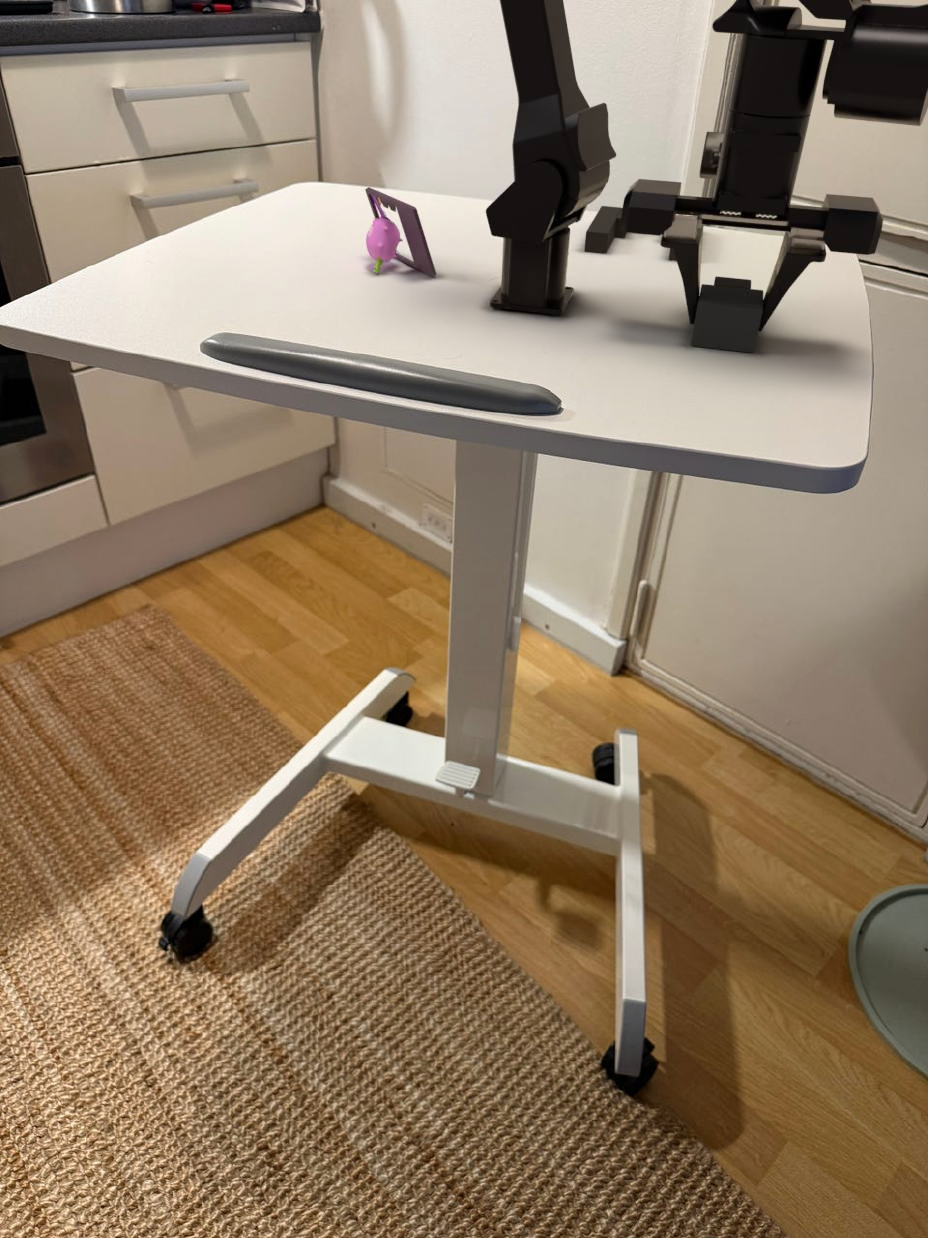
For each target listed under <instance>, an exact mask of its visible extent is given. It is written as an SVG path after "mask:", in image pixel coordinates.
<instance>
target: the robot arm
mask: <svg viewBox="0 0 928 1238" xmlns="http://www.w3.org/2000/svg"><path fill="white" fill-rule="evenodd" d="M798 2H799V3H800V4H801V5H802V6H803V7H804V8H805V9H806V10H807V11H808V12H809V13H810V14H811V15H812V16H813V17H814V18H816V19H818V20H833V21H834V20H835V21H845V25H844V27H833V26H823V25H822V26H819V25H811V24H803V11H802V9H801V7H799V6H788V5H787V6H785V5H769V4H761V3H760V2H759V0H735V1H734V2H733V3H732V4H731V6H730V7H729V8H728V9H727V10H726V11H725V12H724V13H722V14H721V15H720V16H718V18H716V19H714V21H713V22H712V30H713V32H715V33H720V34H723V33H724V34H734V35H735V34H736V35H741V37H740V42H739V47H738V53H737V59H736V65H735V70H734V76H733V82H732V87H731V93H730V99H729V103H728V109H727V114H726V120H725V125H724V132H720V131H719V132H718V131H706V134H705V140H704V145H703V150H702V156H701V161H700V167H699V178H700V179H707V180H715V181H714V186H713V191H712V197H705V196H693V195H682V194H681V189H682V182H681V181H668V180H660V179H659V180H657V179H645V178H638V179H637V180H636V181H634V183H633V184H632V185H630V186H629V188H628V191H627V192H626V194H625V196H624V198H623V202H622V203H623V204H622V207H621V208H622V216H621V224H620V230H621V231H624V232H626V234H637V235H648V236H659V237H660V236H661V235H662V236H661V240H660V247H661V248H665V249H670V248H671V249H672V250H673V251H674V255H675V258H676V260H675V261H676V264H677V266H678V270H679V273H680V276H681V279H682V284H683V289H684V290H683V291H684V296H685V302H686V308H687V314H688V321H689V324H690V325H693V326H694V323H695V317H696V312H697V306H698V301H699V295H700V290H701V270H702V268H701V267H702V252H703V251H702V249H703V236H704V225H706V226H707V225H708V226H720V227H731V228H741V229H742V228H743V229H752V230H762V231H763V230H766V231H774V232H784V234H783V235H784V236H783V238H782V241H781V245H780V249H779V252H778V255H777V259H776V263H775V265H774V267H773V270H772V274H771V276H770V279H769V282H768V285H767V287H766V290H765V293H764V295H763V313H762V317H761V322H760V326H759V330H758V333H761V332H762V331H763V329H764V328H765V326H766V325H767V323H768V322H769V320H770V319H771V317H772V316H773V314H774V312H775V311H776V309H777V308H778V306H779V304H780V303H781V302H782V300H783V298H784V297H785V295H786V294H787V292H788V291H789V290H790V288H791V287H792V286H793V285H794V283H795V282H796V281H797V280H798V278H799V277H800V276H801V275H802V274H803V273H804V271H805V270H806V269H807V268H808V266H809V265H810V264H812V263H824V262H825V261H826V257H827V249H826V246H827V248H828V250H829V251H830V252H832V253H843V254H851V255H852V254H853V255H854V254H855V255H863V256H870V255H875V254H876V251H877V248H878V244H879V241H880V237H881V234H882V229H883V226H884V225H883V224H884V219H883V215H882V213H881V211H880V207H879V206H878V204H877V203H876V200H874V198H873V197H869V196H868V197H867V196H858V195H857V196H856V195H844V194H843V195H842V194H831V193H826V194H825V196H824V200H823V202H822V206H814V205H812V206H811V205H802V204H791V202H792V197H793V194H794V190H795V186H796V185H795V184H796V181H797V176H798V171H799V168H800V164H801V158H802V154H803V149H804V146H805V145H804V144H805V141H806V136H807V133H808V128H809V123H810V120H811V119H810V118H811V115H812V114H811V113H812V110H813V105H814V101H815V97H816V92H817V87H818V83H819V79H820V74H821V71H822V67H823V62H824V57H825V53H826V50H827V49H826V48H827V44H828V41H833V42H832V48H831V51H830V54H829V58H828V62H827V65H826V69H825V74H824V79H823V84H822V93H821V94H822V95H821V96H822V97H821V98H822V100H826V104H827V105H832V106H833V116H834V118H836V119H844V120H845V119H846V120H856V121H865V122H877V123H885V124H893V125H894V124H896V125H905V126H914V127H921V125H922V123H923V122H924V119H925V117H926V114H927V112H928V3H924V4H919V5H913V4H912V5H910V4H894V3H893V4H892V3H876V2H872V0H798ZM564 3H565V2H564V0H499V4H500V10H501V15H502V19H503V26H504V29H505V35H506V36H505V37H506V40H507V45H508V51H509V56H510V62H511V67H512V73H513V76H514V77H513V78H514V83H515V86H516V93H517V102H518V103H517V104H518V105H517V110H516V111H517V112H516V117H515V118H516V119H515V125H514V131H513V138H512V145H511V146H512V147H511V148H512V149H511V150H512V165H513V166H512V167H513V182H511V184H510V185H509V186H507V188H506V189H505V190H504V191H503V192H502V193H500V194H499V196H497V197H496V198H495V200H494V201H492V202H491V203H490V205H488V206H487V207H486V208H485V215H486V220H487V223H488V227H489V230H490V234H491V236H493V237H497V238H502V259H501V279H500V281H501V282H500V283H501V284H500V287H499V288H498V289H497V291H496V292H495V293H494V294H493V296H492V297H491V298H490V299H489V307H490V308H495V309H503V310H504V309H505V310H512V311H513V310H514V311H522V312H531V313H539V314H547V315H562V314H563V313H564V312H565V310H566V308H567V306H568V304H569V302H570V300H571V299H572V297H573V295H574V289H575V288H574V287H572V286H567V285H566V284H567V272H568V262H569V261H568V260H569V249H570V238H571V228H570V226H571V225H573V224H575V223H578V222H581V220H582V218H583V217H584V214H585V211H586V209H587V207H588V205H589V204H591V203H593V202H594V201H595V200H596V199H597V198H599V197H600V196H601V195H602V192H603V191H604V189H605V188H606V186H607V184H608V183H609V180H610V174H611V162H610V161H611V160H613V159H615V158H616V157H617V153H616V151H615V149H614V147H613V145H612V142H611V139H610V138H611V137H610V133H609V109H608V105H607V103H605V102H601V103H598V104H596V105H593V106H591V107H590V105H589V103H588V100H587V99H586V98H585V96H584V94H583V92H582V89H580V86H579V84H578V81H577V76H576V71H575V70H576V69H575V65H574V59H573V51H572V47H571V39H570V33H569V28H568V22H567V21H568V20H567V15H566V10H565V9H566V8H565V4H564ZM663 232H664V233H663ZM662 233H663V234H662Z"/></svg>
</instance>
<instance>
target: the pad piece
mask: <svg viewBox="0 0 928 1238" xmlns="http://www.w3.org/2000/svg"><path fill="white" fill-rule="evenodd" d="M763 299H764V290H762V289H754V288H752V279H747V278H735V277H726V276H714V282H713V284H707V283H706V284H705V283H702V284H700V292H699V301H698V306H697V312H696V317H695V323H694V325H693V329H692V334H691V340H690V347H698V348H707V349H715V350H722V351H723V350H724V351H732V352H740V353H741V352H742V353H751V354H753V353H754V352H755V348H756V343H757V340H758V336H759V335H758V334H759V332H758V330H759V326H760V322H761V317H762V313H763Z"/></svg>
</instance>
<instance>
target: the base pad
mask: <svg viewBox="0 0 928 1238" xmlns="http://www.w3.org/2000/svg"><path fill="white" fill-rule="evenodd" d="M622 208H623V207H619V206H608V205H601V206H600V208H599V209H598V211H597V213H596V214H595V216H594V218H593V220H592V221H591V223H590V225H589V226H588V228H587V230H586V231H585V238H584V239H585V241H584V249H583V250H584V252H590V253H599V254H607V253H608V250H609V248H610V246H611V244H612V242H613V240H614V238H619V239H620V238H621V239H625V238H626V235H627V233H626V232H624V231H621V230H620V224H621V216H622ZM663 233H664V232H663ZM663 233H662V234H661V235H663ZM668 260H670V261H676V258H675V255H674V251H673V250H672V249H671V248H669V255H668Z"/></svg>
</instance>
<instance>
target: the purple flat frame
mask: <svg viewBox="0 0 928 1238" xmlns="http://www.w3.org/2000/svg"><path fill="white" fill-rule="evenodd" d="M365 194H366V197H367V199H368V203H369V205H370V208H371V211H372V214H373V218H371V219H372V224H371V226H370V227H369V228H368V230H367V233H366V238H365V246H366V250H367V253H368V254H369V256H370V258H371V259H373V260H374V261H376V262H375V265H374V266H373V268H374V270H373V272H374V273H375V274H379V272H380V270H381V267H382V265H383V264H387V263H389V262H390V261H392V260H393V259H397V260H399V261H401V262H403V263H405V264H406V265H408V266H411V267H412V268H414V269H416V270H418V271H420V272H421V273H424V274H426V275H428V276H429V277H432V278H434V277H436V276H437V271H436V268H435V265H434V261H433V257H432V255H431V252H430V248H429V245H428V242H427V238H426V236H425V232H424V229H423V226H422V222H421V219H420V215H419V212H418V209H417V208H416V207H415V206H413V205H411V204H409V203H407V202H404V201H403V200H400V199H397V198H395V197H393V196H391V195H388V194H386V193H384V192H381V190H377V189H374V188H372V187H370V186H368V187H367V188H365ZM381 205H382V206H381ZM383 208H386V209H390V211H392V212H397V214H398V217H399V221H400V223H401V227H402V230H403V233H404V236H405V239H406V242H407V246H408V248H409V251H410V254H411V258H412V260H411V259H409V258H407V257H405V256H403V255H401V254H400V253H399V251H398V250H397V249H398V246H399V243H401V242H404V240H403V239H402V238H401V232H400V229H399V228H398V225H396V223H395V222H393V221H392V220H391V219H390V218H389V217H388V216H387V214H386V212H385V210H383Z"/></svg>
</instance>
